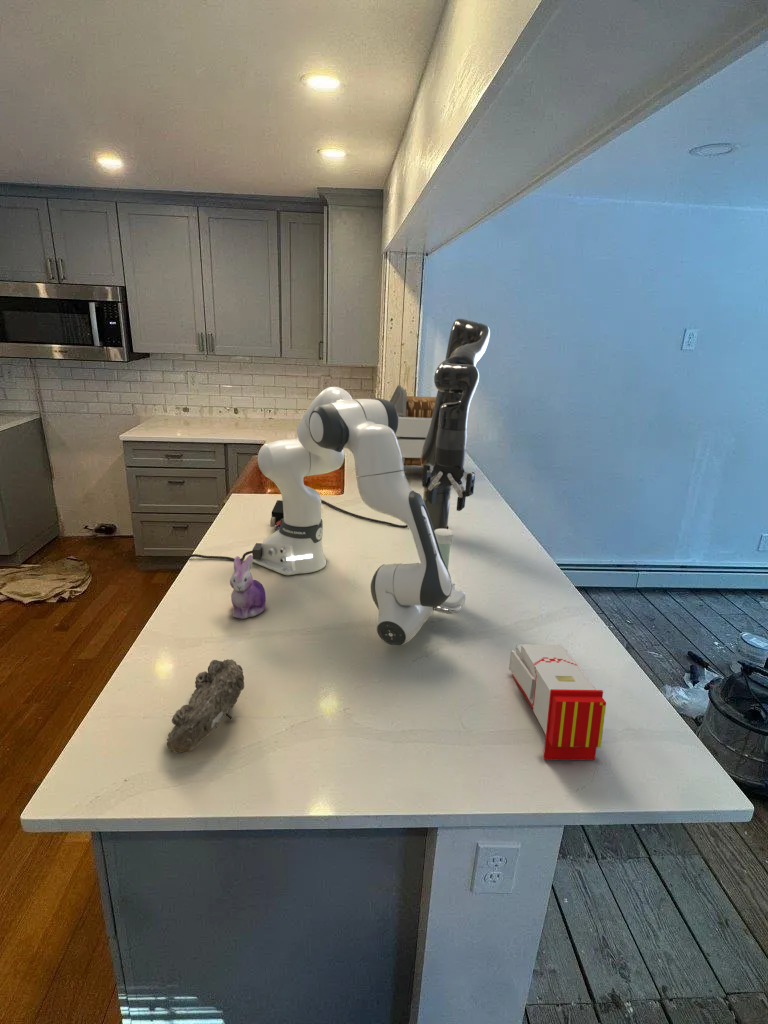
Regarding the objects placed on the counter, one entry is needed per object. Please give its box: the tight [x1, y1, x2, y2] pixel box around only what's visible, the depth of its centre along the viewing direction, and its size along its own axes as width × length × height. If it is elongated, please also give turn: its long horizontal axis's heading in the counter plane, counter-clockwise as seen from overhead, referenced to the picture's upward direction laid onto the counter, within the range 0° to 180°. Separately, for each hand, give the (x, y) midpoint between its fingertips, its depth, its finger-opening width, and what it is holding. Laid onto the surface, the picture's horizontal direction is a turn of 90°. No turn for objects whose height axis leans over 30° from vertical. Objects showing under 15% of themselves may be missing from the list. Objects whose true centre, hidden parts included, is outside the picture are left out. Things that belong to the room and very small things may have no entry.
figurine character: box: [269, 499, 284, 532], centre depth 201 cm, size 7×8×15 cm
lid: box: [434, 528, 454, 544], centre depth 151 cm, size 5×5×2 cm
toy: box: [508, 643, 607, 761], centre depth 112 cm, size 12×13×30 cm
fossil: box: [166, 658, 245, 754], centre depth 106 cm, size 22×10×15 cm
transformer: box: [389, 384, 437, 467], centre depth 268 cm, size 34×33×41 cm
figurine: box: [229, 554, 267, 619], centre depth 143 cm, size 9×10×15 cm
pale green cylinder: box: [438, 543, 451, 570], centre depth 154 cm, size 4×4×19 cm
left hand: (435, 581), depth 152 cm, fingers open, 8 cm apart
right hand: (445, 506), depth 148 cm, fingers open, 7 cm apart
